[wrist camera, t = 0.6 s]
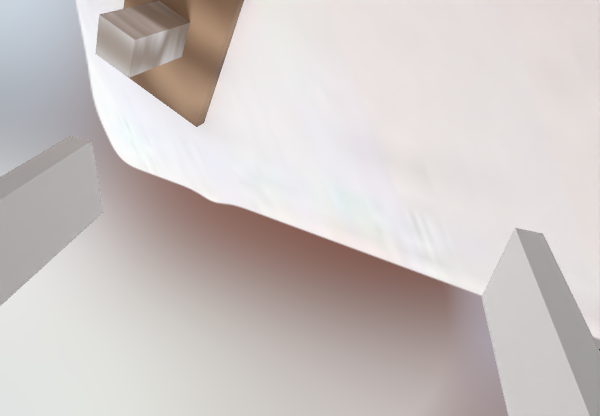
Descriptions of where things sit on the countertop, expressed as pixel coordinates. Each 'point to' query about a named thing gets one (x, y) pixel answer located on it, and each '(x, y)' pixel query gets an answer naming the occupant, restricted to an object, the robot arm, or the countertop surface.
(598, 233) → the countertop surface
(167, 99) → the post board
